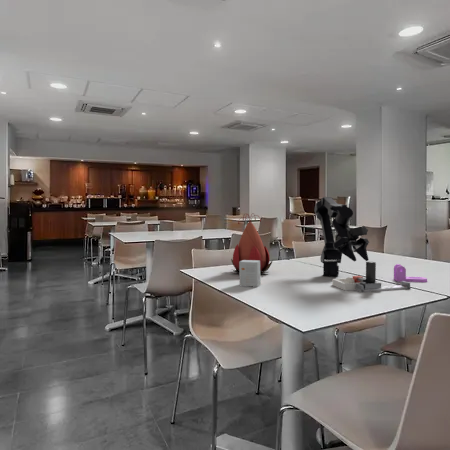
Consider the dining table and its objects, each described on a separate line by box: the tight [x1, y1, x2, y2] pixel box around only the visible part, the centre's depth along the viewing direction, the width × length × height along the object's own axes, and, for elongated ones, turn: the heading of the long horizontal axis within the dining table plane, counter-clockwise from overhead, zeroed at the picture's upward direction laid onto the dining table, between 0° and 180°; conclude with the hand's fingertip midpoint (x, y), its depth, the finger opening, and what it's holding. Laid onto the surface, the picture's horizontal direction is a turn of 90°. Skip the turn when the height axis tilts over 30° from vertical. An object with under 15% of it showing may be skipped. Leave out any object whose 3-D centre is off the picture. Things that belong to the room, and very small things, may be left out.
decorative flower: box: [230, 213, 274, 274], centre depth 188 cm, size 22×23×30 cm
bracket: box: [393, 263, 428, 283], centre depth 166 cm, size 13×6×7 cm, turn 78°
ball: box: [344, 276, 355, 283], centre depth 155 cm, size 4×4×4 cm
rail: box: [355, 281, 411, 293], centre depth 150 cm, size 22×4×2 cm, turn 102°
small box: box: [238, 260, 262, 288], centre depth 160 cm, size 8×6×10 cm
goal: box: [332, 277, 360, 291], centre depth 155 cm, size 7×10×2 cm
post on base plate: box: [352, 261, 382, 289], centre depth 152 cm, size 7×11×11 cm, turn 12°
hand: (361, 260), depth 155 cm, fingers open, 9 cm apart
